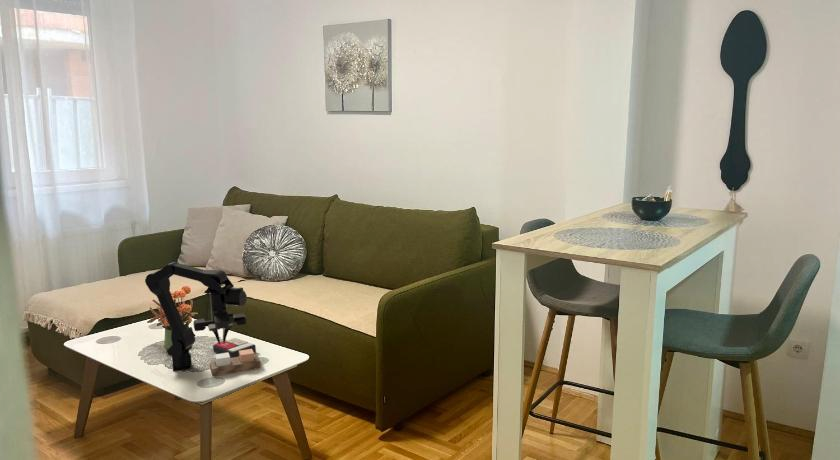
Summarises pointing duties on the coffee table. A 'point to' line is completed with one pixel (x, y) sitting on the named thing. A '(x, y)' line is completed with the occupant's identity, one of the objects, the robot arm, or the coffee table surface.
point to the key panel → (235, 366)
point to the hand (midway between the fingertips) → (221, 343)
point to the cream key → (222, 359)
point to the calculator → (233, 347)
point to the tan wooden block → (246, 355)
